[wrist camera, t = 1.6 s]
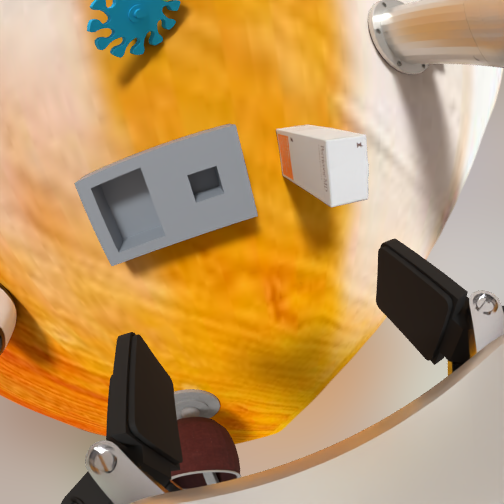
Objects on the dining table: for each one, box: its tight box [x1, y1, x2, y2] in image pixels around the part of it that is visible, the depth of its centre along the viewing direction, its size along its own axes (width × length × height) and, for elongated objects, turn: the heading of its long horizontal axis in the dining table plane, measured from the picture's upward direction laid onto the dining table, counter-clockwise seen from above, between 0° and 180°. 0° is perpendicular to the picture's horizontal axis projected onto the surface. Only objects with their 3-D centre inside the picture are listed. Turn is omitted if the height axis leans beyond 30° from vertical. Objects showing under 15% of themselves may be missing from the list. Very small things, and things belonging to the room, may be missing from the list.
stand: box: [75, 124, 258, 266], centre depth 29 cm, size 17×10×4 cm, turn 103°
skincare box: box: [276, 125, 369, 207], centre depth 27 cm, size 6×4×12 cm
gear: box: [87, 0, 180, 58], centre depth 18 cm, size 11×6×10 cm
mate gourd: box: [171, 389, 241, 490], centre depth 41 cm, size 16×14×20 cm
